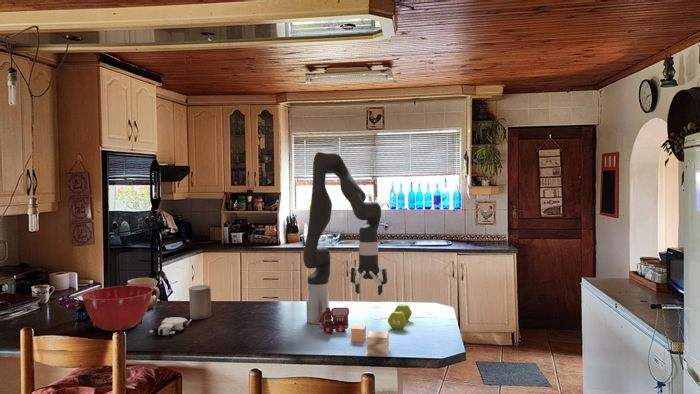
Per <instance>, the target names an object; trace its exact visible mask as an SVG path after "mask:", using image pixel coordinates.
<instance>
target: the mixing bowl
mask: <svg viewBox="0 0 700 394" xmlns="http://www.w3.org/2000/svg"><path fill="white" fill-rule="evenodd" d="M153 292H154V290H153V289H152V288H151V287H146V286H126V285H118V286H117V285H116V286H110V287H109V286H108V287H102V288H97V289H92V290H88V291H86V292H84V293H82V294H81V298H82V301H83V304H84V306H85V307H84V308H85V309H86V311H87V314H88V316H89V317H90V319H91V321H92V323H93V324H94V325H95V326H96V327H98V328H99V329H101V330H103V331H106V332H119V331H125V330H129V329H132V328H134V327H136V326H137V325H138V324H140V322H141V321H143V319H144V317H145V315H146V313H147V310H149V309H148V306H149V303H150V299H151V296H153V295H152V294H153Z"/></svg>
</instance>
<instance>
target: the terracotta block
mask: <svg viewBox="0 0 700 394" xmlns="http://www.w3.org/2000/svg"><path fill="white" fill-rule="evenodd" d="M366 340H367V325H365V324H363V325H362V324H361V325H360V324H353V325H352V327H351V328H350V341H351V342H354V343H355V342H357V343H358V342H359V343H365V341H366Z"/></svg>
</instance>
